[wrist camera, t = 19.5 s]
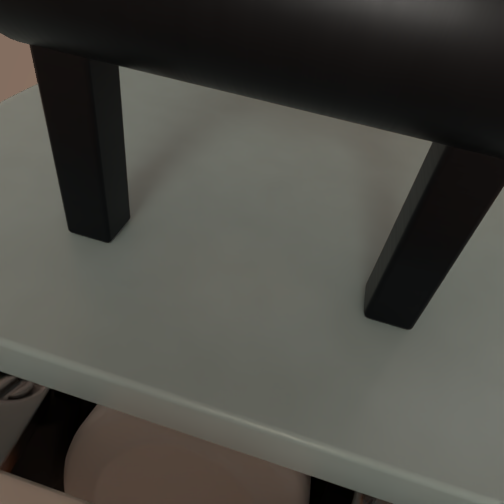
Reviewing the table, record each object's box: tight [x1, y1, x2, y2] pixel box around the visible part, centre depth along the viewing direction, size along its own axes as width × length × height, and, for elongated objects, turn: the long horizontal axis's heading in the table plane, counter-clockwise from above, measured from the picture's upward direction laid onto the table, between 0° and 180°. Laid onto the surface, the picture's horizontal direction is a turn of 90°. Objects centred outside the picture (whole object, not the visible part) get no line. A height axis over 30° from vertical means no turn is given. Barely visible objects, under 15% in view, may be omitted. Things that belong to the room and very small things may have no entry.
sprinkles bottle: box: [64, 404, 311, 504], centre depth 13 cm, size 5×5×13 cm
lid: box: [0, 0, 504, 504], centre depth 9 cm, size 15×13×5 cm
